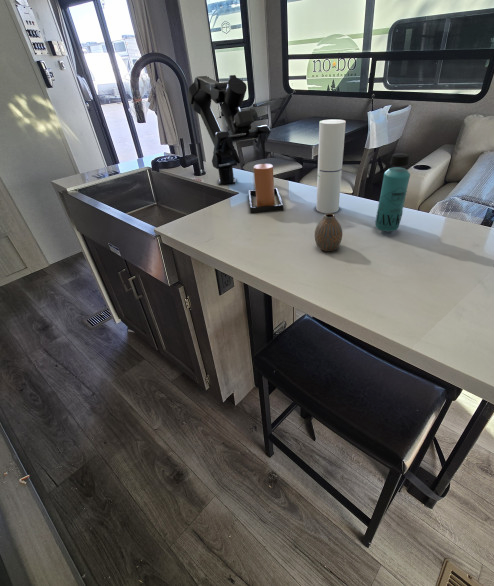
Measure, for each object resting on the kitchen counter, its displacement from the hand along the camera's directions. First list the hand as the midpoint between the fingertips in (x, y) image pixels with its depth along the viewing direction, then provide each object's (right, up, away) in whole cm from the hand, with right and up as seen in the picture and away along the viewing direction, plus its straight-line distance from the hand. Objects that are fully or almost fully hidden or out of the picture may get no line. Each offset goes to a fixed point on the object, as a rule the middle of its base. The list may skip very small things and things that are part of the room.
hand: (252, 160), depth 101 cm
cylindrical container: (+24, -16, -1) cm, 29 cm away
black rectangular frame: (+4, -12, +6) cm, 14 cm away
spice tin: (+4, -14, +3) cm, 15 cm away
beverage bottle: (+38, -26, -15) cm, 49 cm away
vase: (+21, -32, -21) cm, 44 cm away
